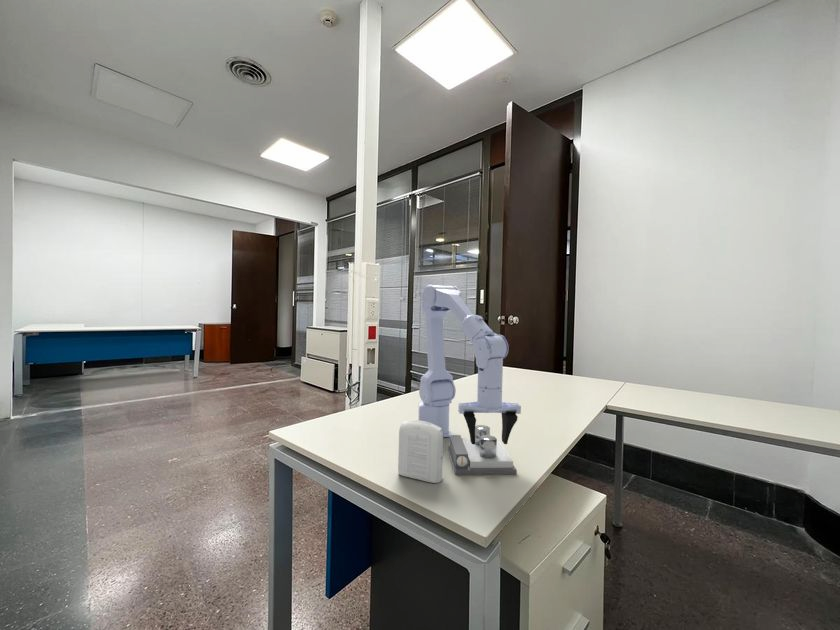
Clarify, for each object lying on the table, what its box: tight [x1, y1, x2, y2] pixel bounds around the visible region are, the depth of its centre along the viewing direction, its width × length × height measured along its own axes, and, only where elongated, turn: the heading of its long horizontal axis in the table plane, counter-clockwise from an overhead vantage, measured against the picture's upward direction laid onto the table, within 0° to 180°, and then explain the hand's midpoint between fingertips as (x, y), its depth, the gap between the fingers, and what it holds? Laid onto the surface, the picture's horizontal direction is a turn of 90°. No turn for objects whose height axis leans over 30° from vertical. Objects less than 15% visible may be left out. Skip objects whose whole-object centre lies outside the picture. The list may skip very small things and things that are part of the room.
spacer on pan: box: [475, 424, 491, 446], centre depth 85 cm, size 4×4×4 cm
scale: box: [447, 434, 518, 476], centre depth 81 cm, size 14×13×4 cm
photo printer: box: [397, 419, 444, 484], centre depth 73 cm, size 10×4×12 cm, turn 69°
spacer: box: [479, 434, 498, 459], centre depth 78 cm, size 4×4×4 cm
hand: (488, 442), depth 78 cm, fingers open, 7 cm apart
